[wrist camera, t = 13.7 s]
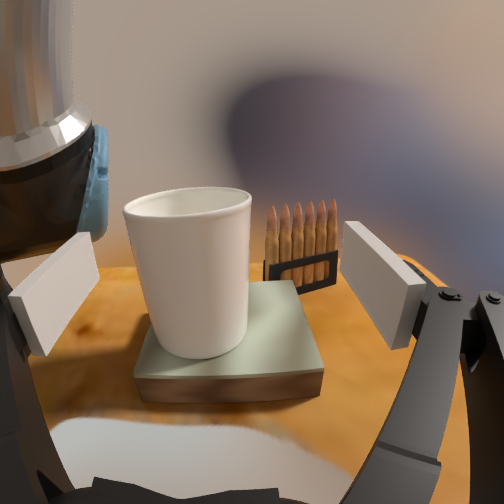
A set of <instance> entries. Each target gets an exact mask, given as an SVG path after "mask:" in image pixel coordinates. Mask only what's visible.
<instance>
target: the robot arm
mask: <svg viewBox="0 0 504 504" xmlns="http://www.w3.org/2000/svg"><path fill="white" fill-rule="evenodd" d="M72 16H73V0H0V504H308V503H304V502H301V501H297V500H291V499H286V498H279V491H278V488H270V489H254V490H229V491H225V492H220V493H216V494H210V495H205V496H200V497H194V498H188V499H176V498H172V497H169V496H165V495H163V494H160V493H157V492H154V491H151V490H149V489H146V488H143V487H140V486H138V485H135V484H130V483H124V482H118V481H113V480H108V479H103V478H98V477H94V479H93V483H92V487H86V488H79V489H75V488H74V486H73V485H72V483H71V481H70V480H69V478H68V475H67V473H66V471H65V469H64V467H63V465H62V462H61V460H60V458H59V456H58V453H57V451H56V448H55V446H54V443H53V441H52V438H51V436H50V433H49V430H48V428H47V425H46V422H45V419H44V416H43V413H42V410H41V407H40V404H39V401H38V397H37V394H36V391H35V387H34V384H33V380H32V376H31V372H30V368H29V364H28V360H27V357H28V356H29V354H30V353H31V352H32V354H33V355H37V356H44V357H47V355H48V354H49V352H50V351H51V349H52V347H53V346H54V344H55V343H56V341H57V340H58V338H59V336H60V335H61V333H62V332H63V330H64V329H65V327H66V326H67V324H68V323H69V321H70V320H71V318H72V317H73V316H74V314H75V313H76V311H77V310H78V308H79V307H80V305H81V304H82V303H83V301H84V300H85V298H86V297H87V296H88V294H89V293H90V291H91V290H92V289H93V287H94V286H95V285H96V283H97V282H98V281H99V279H100V277H99V273H98V269H97V265H96V260H95V255H94V251H93V246H92V242H95V241H97V240H99V239H100V238H101V237H102V236H103V235H104V234H105V232H106V230H107V225H108V176H107V173H108V134H107V129H106V128H105V127H102V126H98V125H94V126H92V120H91V113H90V110H89V109H88V108H87V107H86V106H85V105H83V104H82V103H80V102H79V101H77V100H76V99H74V97H73V81H72ZM49 253H53V254H52V255H51V256H50V257H48V259H46V260H45V261H44V262H43V263H42V264H41V265H40V266H38V267H37V268H36V269H35V270H34V271H33V272H32V273H31V274H30V275H29V276H28V277H27V278H25V279H24V280H23V281H22V282H21V283H20V284H19V285H18V286H17V287H16V288H15V289H14V290H13V289H12V288H11V286H10V285H9V284H8V282H7V281H6V279H5V277H4V274H3V271H2V268H1V264H2V263H5V262H10V261H14V260H20V259H24V258H29V257H34V256H39V255H43V254H49ZM340 272H341V273H342V275H343V276H344V278H345V279H346V281H347V282H348V284H349V285H350V287H351V288H352V290H353V291H354V293H355V294H356V296H357V297H358V299H359V301H360V302H361V304H362V305H363V307H364V308H365V310H366V311H367V313H368V314H369V316H370V318H371V319H372V321H373V322H374V324H375V326H376V327H377V329H378V330H379V332H380V333H381V335H382V337H383V338H384V340H385V342H386V343H387V345H388V346H389V348H390V350H394V349H399V348H405V347H408V345H409V342H410V339H411V336H412V334H413V336H414V337H415V338H416V340H417V342H416V344H415V347H414V350H413V353H412V355H411V358H410V361H409V364H408V367H407V370H406V372H405V375H404V378H403V380H402V383H401V385H400V388H399V390H398V393H397V395H396V397H395V400H394V402H393V404H392V407H391V409H390V411H389V413H388V416H387V418H386V420H385V422H384V424H383V426H382V428H381V431H380V433H379V435H378V437H377V439H376V441H375V443H374V445H373V447H372V448H371V450H370V452H369V454H368V456H367V458H366V460H365V462H364V463H363V465H362V467H361V469H360V470H359V472H358V474H357V476H356V477H355V479H354V481H353V482H352V484H351V486H350V487H349V489H348V491H347V492H346V494H345V495H344V497H343V498H342V500H341V501H340V503H339V504H429V502H430V500H431V497H432V495H433V492H434V489H435V486H436V483H437V481H438V478H439V474H440V470H441V462H438V461H437V456H438V452H439V449H440V446H441V442H442V439H443V435H444V431H445V428H446V424H447V420H448V415H449V411H450V407H451V402H452V397H453V392H454V387H455V381H456V375H457V369H458V362H459V358H460V364H461V370H462V376H463V382H464V389H465V397H466V405H467V415H468V426H469V441H470V502H469V504H504V297H503V296H502V295H500V294H499V293H496V292H495V291H489V290H484V291H481V292H480V294H479V297H478V300H477V302H471V301H464V297H463V296H462V295H461V293H459V292H458V291H456V290H454V289H452V288H448V287H437V286H436V285H435V284H434V283H433V282H432V281H431V280H430V279H428V278H427V277H426V276H424V274H423V273H422V272H421V271H419V269H418V268H417V267H415V266H414V265H413V264H411V263H409V262H407V261H405V260H402V259H400V258H399V257H398V256H397V255H396V254H395V253H394V252H393V251H392V250H391V249H389V248H388V247H387V246H386V245H385V244H384V243H383V242H381V241H380V240H379V239H378V238H377V237H376V236H375V235H374V234H372V233H371V232H370V231H369V230H368V229H367V228H365V227H364V226H363V225H362V224H361V223H360V222H358V221H345V222H344V233H343V243H342V252H341V261H340Z"/></svg>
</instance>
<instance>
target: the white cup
mask: <svg viewBox="0 0 504 504" xmlns="http://www.w3.org/2000/svg"><path fill="white" fill-rule="evenodd" d="M251 203H252V197H251V195H250V194H249V193H248V192H246V191H243V190H239V189H234V188H225V187H195V188H183V189H175V190H169V191H163V192H158V193H154V194H150V195H146V196H143V197H140V198H137V199H135V200H133V201H131V202H129V203H127V204H126V205H125V206H124V208H123V216H124V218H125V222H126V226H127V231H128V235H129V240H130V244H131V249H132V253H133V257H134V261H135V265H136V269H137V273H138V277H139V281H140V285H141V289H142V292H143V296H144V299H145V303H146V306H147V310H148V313H149V316H150V320H151V323H152V326H153V329H154V332H155V335H156V338H157V340H158V342H159V344H160V345H161V346H162V347H163V348H164V349H165V350H166V351H167V352H169V353H171V354H173V355H175V356H178V357H181V358H186V359H208V358H213V357H217V356H220V355H223V354H225V353H227V352H229V351H231V350H232V349H234V348H235V347H236V346H238V345H239V344H240V343H241V341H242V340H243V338H244V337H245V334H246V331H247V321H248V290H249V250H250V249H249V248H250V213H251Z"/></svg>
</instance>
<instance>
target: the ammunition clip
mask: <svg viewBox="0 0 504 504" xmlns="http://www.w3.org/2000/svg"><path fill="white" fill-rule="evenodd" d="M314 227H315V224H314V208H313V204H312V202H311V201H309V202H308V205H307V208H306V214H305V223H304V231H303V218H302V210H301V206H300V203H299V202H297V204H296V206H295V209H294V214H293V226H292V233H291V232H290V231H291V229H290V214H289V209H288V206H287V204H286V203H285V204H284V206H283V208H282V212H281V219H280V234H279V238H278V231H277V217H276V212H275V209H274V207H273V205H271V206H270V209H269V213H268V218H267V235H266V241H265V260H264V263H263V281H280V280H293V283H294V286H295V288H296V291H297V294H298V295H300V294H304V293H307V292H310V291H314V290H317V289H321V288H324V287H328V286H331V285H334V284H336V279H337V263H338V250H336V246H337V209H336V202H335V200H334V198H332V200H331V202H330V205H329V210H328V219H327V226H326V209H325V204H324V201H323V199H321V201H320V203H319V206H318V211H317V220H316V228H314Z"/></svg>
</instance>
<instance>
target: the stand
mask: <svg viewBox="0 0 504 504" xmlns="http://www.w3.org/2000/svg"><path fill="white" fill-rule="evenodd" d="M323 373H324V365H323V362H322V359H321V356H320V354H319V351H318V348H317V345H316V343H315V340H314V337H313V334H312V332H311V329H310V326H309V323H308V321H307V318H306V315H305V312H304V310H303V307H302V304H301V302H300V299H299V296H298V294H297V291H296V288H295V286H294V283H293V280H280V281H261V282H249V290H248V321H247V331H246V334H245V337H244V338H243V340H242V341H241V343H240V344H239V345H238V346H236V347H235V348H234V349H232V350H231V351H229V352H227V353H225V354H223V355H220V356H217V357H213V358H208V359H186V358H181V357H178V356H175V355H173V354H171V353H169V352H167V351H166V350H165V349H164V348H163V347H162V346H161V345H160V344H159V342H158V340H157V338H156V335H155V332H154V329H153V326H152V323H150V326H149V329H148V331H147V334H146V337H145V340H144V342H143V345H142V348H141V351H140V354H139V357H138V359H137V362H136V365H135V368H134V371H133V377H134V379H135V382H136V385H137V388H138V390H139V393H140V395H141V398H142V400H143V401H145V402H164V403H241V402H259V401H273V400H285V399H295V398H304V397H312V396H319V395H320V390H321V385H322V379H323Z"/></svg>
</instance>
